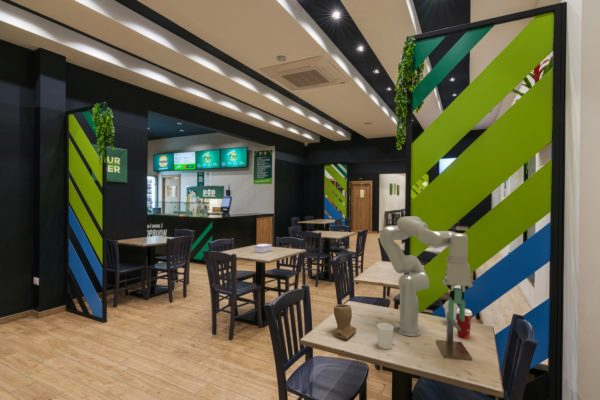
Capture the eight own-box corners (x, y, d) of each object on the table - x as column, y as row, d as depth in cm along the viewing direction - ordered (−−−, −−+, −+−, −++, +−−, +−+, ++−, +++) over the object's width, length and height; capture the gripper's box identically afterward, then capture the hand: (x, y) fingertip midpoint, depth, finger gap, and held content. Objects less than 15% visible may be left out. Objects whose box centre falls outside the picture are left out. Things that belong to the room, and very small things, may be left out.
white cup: (383, 351, 155) (383, 330, 154) (373, 344, 162) (373, 324, 162) (396, 348, 158) (397, 328, 158) (386, 341, 165) (386, 322, 165)
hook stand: (444, 358, 148) (445, 324, 148) (435, 342, 165) (436, 310, 165) (472, 361, 146) (473, 326, 146) (461, 344, 163) (462, 312, 162)
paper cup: (473, 340, 167) (474, 313, 167) (457, 338, 169) (458, 312, 169) (469, 334, 175) (469, 308, 175) (453, 332, 176) (454, 307, 176)
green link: (450, 320, 149) (451, 289, 149) (448, 317, 153) (449, 287, 153) (464, 321, 148) (465, 290, 148) (461, 318, 152) (462, 288, 152)
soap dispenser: (443, 320, 194) (443, 287, 193) (459, 323, 190) (460, 289, 189) (442, 325, 186) (443, 290, 186) (459, 328, 182) (460, 293, 182)
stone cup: (339, 326, 183) (339, 300, 183) (358, 331, 177) (359, 304, 176) (326, 336, 170) (326, 307, 170) (347, 342, 164) (347, 312, 164)
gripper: (441, 260, 148) (440, 300, 149) (480, 262, 145) (478, 303, 146) (437, 257, 155) (436, 295, 156) (474, 259, 152) (472, 297, 153)
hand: (456, 298), depth 151 cm, fingers closed on green link, 3 cm apart
